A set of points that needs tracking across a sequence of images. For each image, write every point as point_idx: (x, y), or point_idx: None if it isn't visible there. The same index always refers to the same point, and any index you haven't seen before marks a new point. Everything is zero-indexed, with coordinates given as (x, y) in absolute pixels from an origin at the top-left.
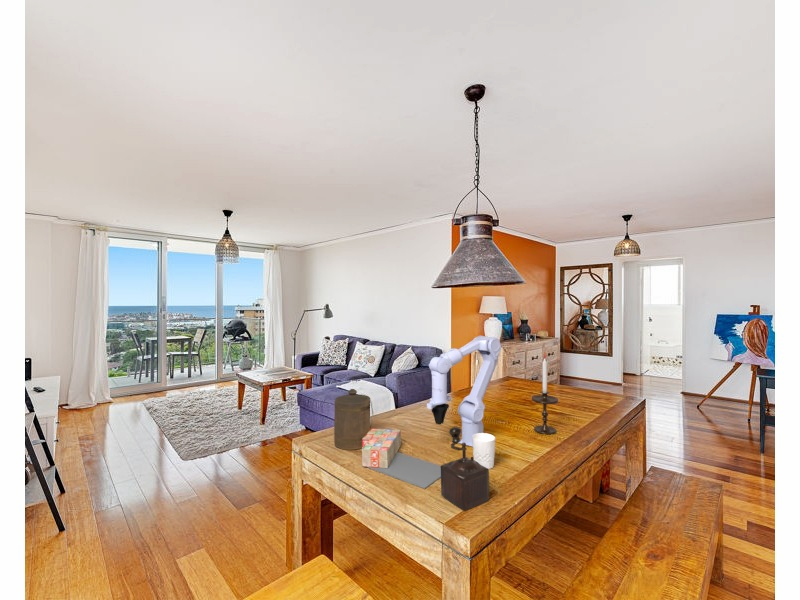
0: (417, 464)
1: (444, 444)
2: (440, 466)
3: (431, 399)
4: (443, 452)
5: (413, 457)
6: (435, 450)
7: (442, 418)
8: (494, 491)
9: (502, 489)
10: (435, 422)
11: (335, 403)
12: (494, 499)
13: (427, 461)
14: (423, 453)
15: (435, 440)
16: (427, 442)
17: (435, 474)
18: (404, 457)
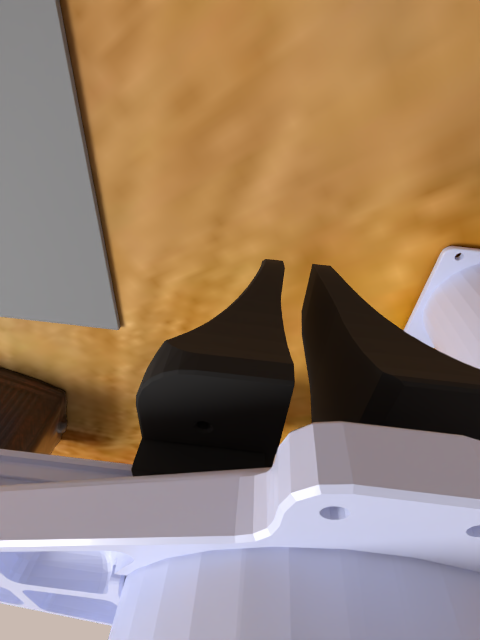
0: (24, 183)
1: (397, 177)
2: (102, 288)
3: (256, 526)
4: (267, 227)
5: (68, 102)
6: (270, 170)
7: (308, 346)
8: (105, 441)
9: (129, 451)
10: (263, 262)
11: None
12: (72, 446)
13: (95, 212)
14: (182, 119)
15: (465, 66)
16: (397, 18)
17: (31, 299)
18: (15, 33)
